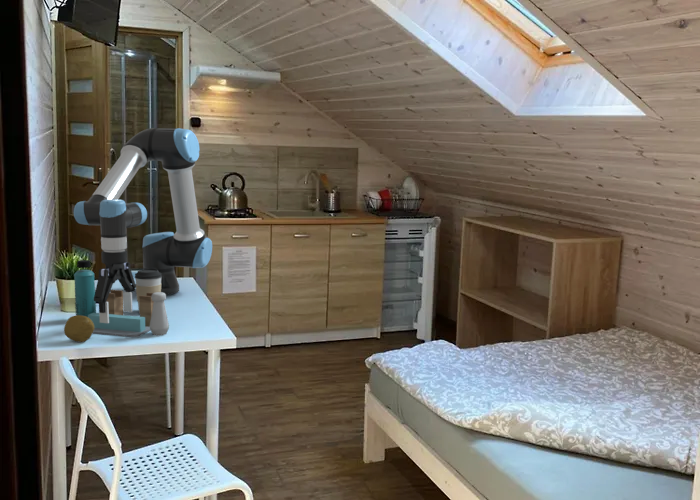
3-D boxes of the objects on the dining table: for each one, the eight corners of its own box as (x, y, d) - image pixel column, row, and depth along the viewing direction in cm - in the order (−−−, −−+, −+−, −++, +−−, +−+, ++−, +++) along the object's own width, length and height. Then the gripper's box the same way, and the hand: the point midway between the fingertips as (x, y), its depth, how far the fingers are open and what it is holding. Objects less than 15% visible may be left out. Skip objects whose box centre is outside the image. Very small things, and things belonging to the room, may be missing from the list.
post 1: (112, 319, 234) (111, 289, 232) (123, 320, 233) (122, 290, 231) (103, 323, 229) (102, 293, 227) (114, 324, 228) (113, 294, 226)
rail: (93, 324, 224) (93, 312, 223) (145, 329, 220) (145, 317, 220) (88, 327, 221) (87, 314, 221) (140, 332, 217) (140, 319, 217)
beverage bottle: (101, 319, 233) (98, 260, 230) (84, 323, 227) (82, 262, 224) (87, 316, 236) (85, 257, 233) (71, 320, 231) (68, 260, 228)
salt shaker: (146, 333, 218) (145, 292, 216) (162, 330, 222) (162, 289, 220) (155, 337, 214) (154, 295, 212) (172, 334, 218) (171, 293, 216)
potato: (63, 340, 209) (61, 314, 208) (89, 336, 213) (88, 311, 212) (68, 346, 203) (67, 319, 202) (96, 342, 208) (95, 316, 206)
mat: (97, 323, 228) (97, 322, 228) (153, 328, 223) (153, 327, 223) (78, 331, 218) (78, 330, 218) (137, 337, 214) (137, 335, 214)
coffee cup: (155, 316, 239) (154, 272, 237) (130, 314, 241) (129, 271, 238) (167, 309, 248) (166, 268, 245) (143, 308, 250) (142, 266, 247)
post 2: (148, 322, 231) (147, 292, 229) (159, 323, 230) (158, 293, 229) (140, 326, 226) (139, 296, 224) (151, 327, 225) (150, 296, 223)
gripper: (124, 243, 230) (126, 306, 233) (79, 256, 206) (82, 326, 209) (145, 244, 228) (147, 308, 231) (102, 257, 204) (105, 328, 207)
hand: (116, 317), depth 220 cm, fingers open, 13 cm apart
